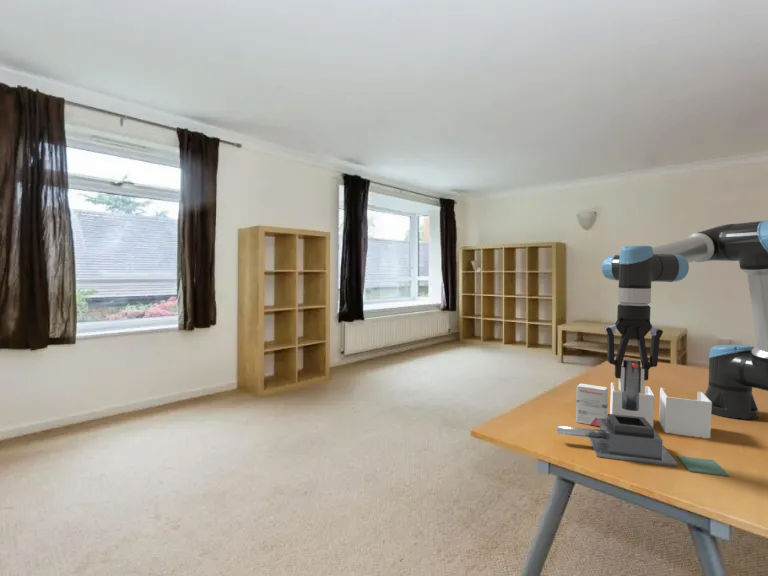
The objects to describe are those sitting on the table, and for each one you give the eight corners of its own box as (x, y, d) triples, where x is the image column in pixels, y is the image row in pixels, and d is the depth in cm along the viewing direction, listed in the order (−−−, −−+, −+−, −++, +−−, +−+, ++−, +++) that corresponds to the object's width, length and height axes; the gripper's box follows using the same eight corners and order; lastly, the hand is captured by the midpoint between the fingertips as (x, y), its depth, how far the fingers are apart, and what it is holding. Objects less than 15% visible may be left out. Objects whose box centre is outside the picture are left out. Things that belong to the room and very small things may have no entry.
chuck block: (658, 444, 118) (659, 415, 117) (676, 466, 104) (678, 435, 104) (554, 432, 126) (555, 406, 125) (559, 452, 112) (560, 422, 112)
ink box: (608, 423, 133) (609, 386, 133) (605, 428, 129) (607, 390, 129) (578, 418, 138) (579, 382, 137) (575, 422, 134) (576, 385, 133)
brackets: (611, 425, 132) (613, 390, 132) (609, 414, 142) (610, 382, 142) (710, 439, 122) (711, 402, 121) (700, 426, 131) (702, 392, 131)
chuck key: (633, 404, 117) (635, 357, 116) (643, 414, 108) (645, 364, 108) (617, 402, 118) (619, 356, 117) (625, 413, 109) (627, 363, 109)
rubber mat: (713, 461, 107) (713, 460, 107) (729, 476, 100) (729, 474, 100) (677, 457, 110) (677, 455, 109) (689, 471, 102) (689, 469, 102)
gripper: (665, 304, 113) (662, 390, 114) (595, 302, 118) (593, 384, 119) (676, 306, 106) (672, 398, 107) (601, 304, 111) (598, 392, 112)
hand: (630, 390), depth 113 cm, fingers closed on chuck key, 4 cm apart
